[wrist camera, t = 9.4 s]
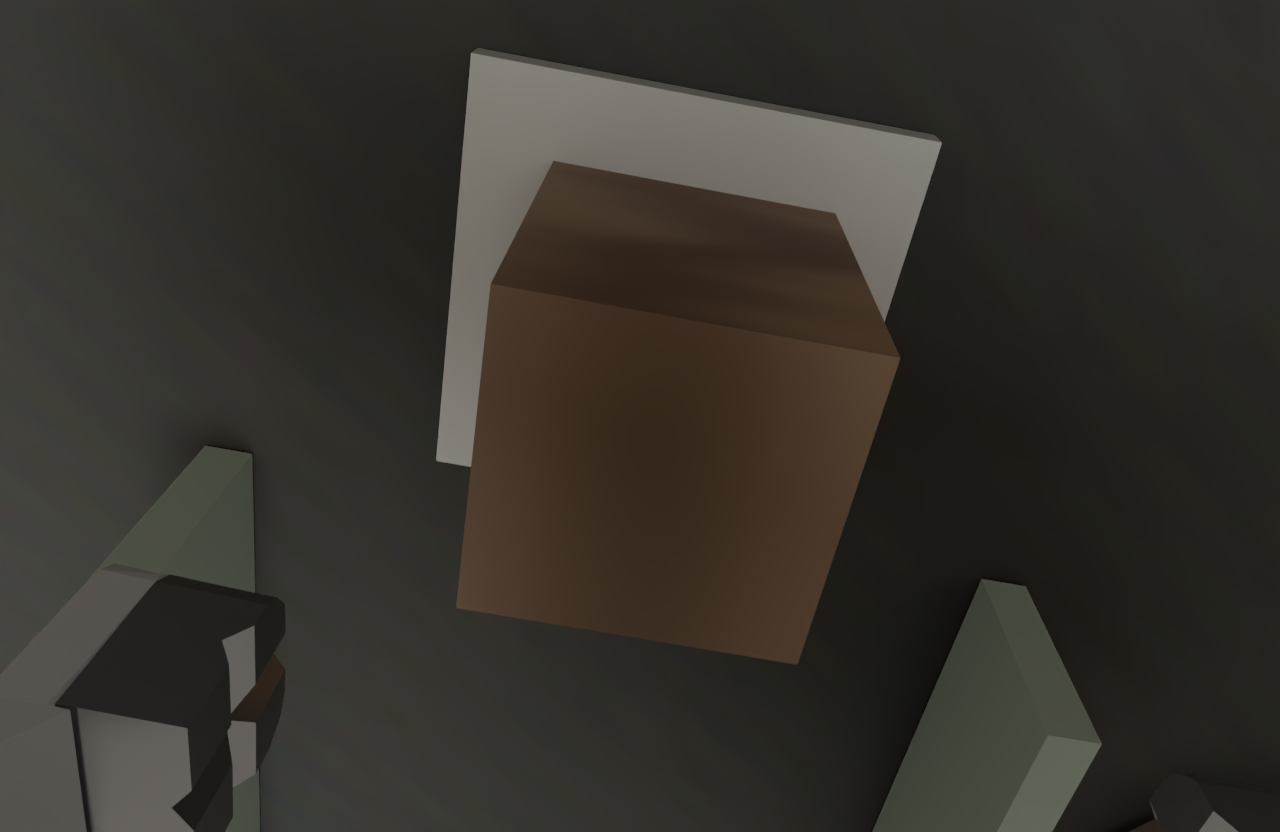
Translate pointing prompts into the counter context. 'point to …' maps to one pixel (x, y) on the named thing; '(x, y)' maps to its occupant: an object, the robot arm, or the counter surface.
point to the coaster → (661, 150)
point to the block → (670, 414)
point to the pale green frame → (936, 758)
